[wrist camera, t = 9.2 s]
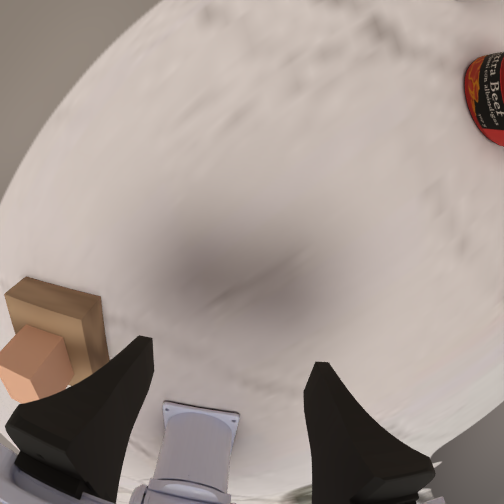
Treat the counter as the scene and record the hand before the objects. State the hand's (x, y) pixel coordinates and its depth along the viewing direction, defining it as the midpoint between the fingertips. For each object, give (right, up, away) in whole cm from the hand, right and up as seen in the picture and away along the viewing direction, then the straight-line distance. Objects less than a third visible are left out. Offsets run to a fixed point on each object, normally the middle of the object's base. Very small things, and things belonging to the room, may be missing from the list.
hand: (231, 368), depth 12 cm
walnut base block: (-17, -2, +12) cm, 21 cm away
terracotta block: (-17, -4, +9) cm, 20 cm away
